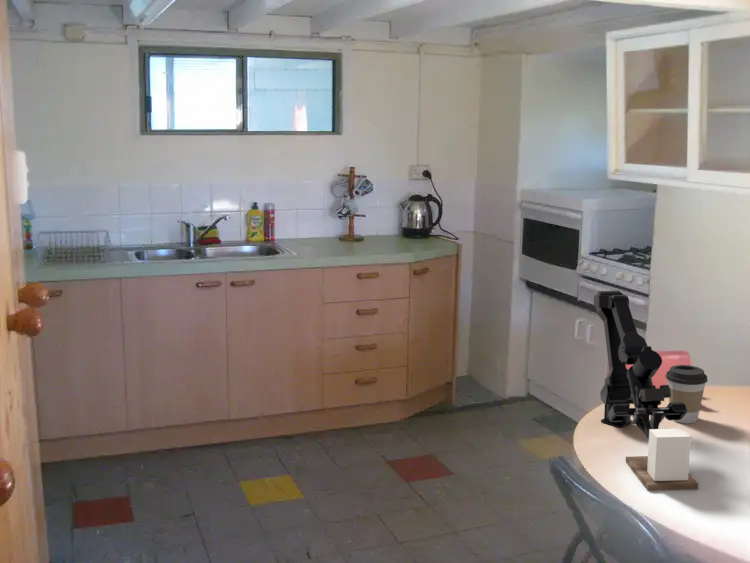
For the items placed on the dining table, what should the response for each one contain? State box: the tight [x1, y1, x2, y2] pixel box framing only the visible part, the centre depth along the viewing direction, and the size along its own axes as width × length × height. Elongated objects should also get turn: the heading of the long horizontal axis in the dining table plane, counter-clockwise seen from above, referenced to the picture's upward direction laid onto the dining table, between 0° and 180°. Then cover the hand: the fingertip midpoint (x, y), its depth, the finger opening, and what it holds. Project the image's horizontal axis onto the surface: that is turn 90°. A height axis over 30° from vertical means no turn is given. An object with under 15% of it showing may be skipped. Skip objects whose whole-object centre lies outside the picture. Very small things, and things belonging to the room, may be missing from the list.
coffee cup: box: [665, 364, 708, 424], centre depth 233 cm, size 11×11×15 cm
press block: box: [647, 428, 692, 481], centre depth 194 cm, size 6×8×11 cm
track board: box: [625, 455, 699, 492], centre depth 199 cm, size 16×12×2 cm
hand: (654, 443), depth 203 cm, fingers closed
